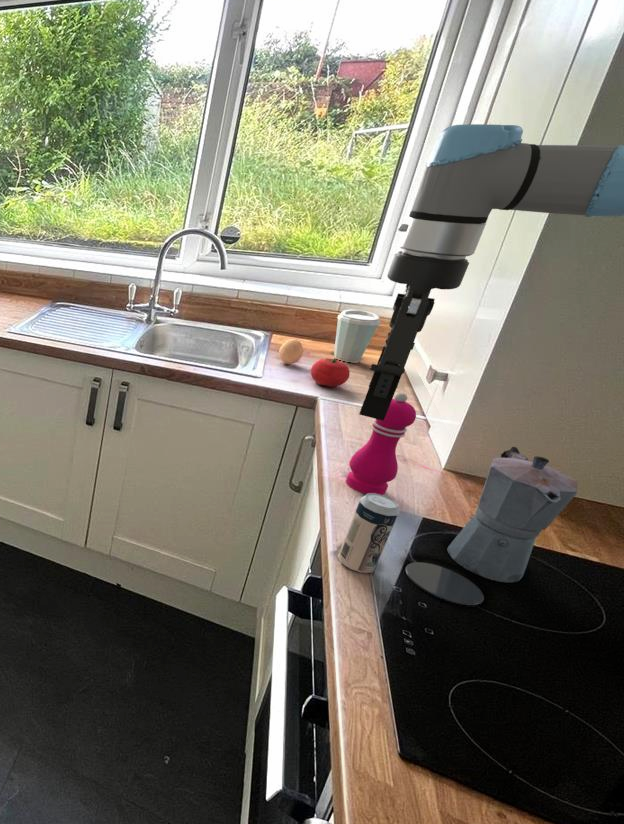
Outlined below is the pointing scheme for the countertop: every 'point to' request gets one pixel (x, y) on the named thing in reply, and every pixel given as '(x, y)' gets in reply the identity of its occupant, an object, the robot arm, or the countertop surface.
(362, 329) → the disposable coffee cup
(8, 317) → the countertop surface
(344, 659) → the countertop surface
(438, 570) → the slate coaster
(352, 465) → the pepper mill
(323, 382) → the tomato
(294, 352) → the egg
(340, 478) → the countertop surface
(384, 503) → the beer can
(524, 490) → the moka pot
